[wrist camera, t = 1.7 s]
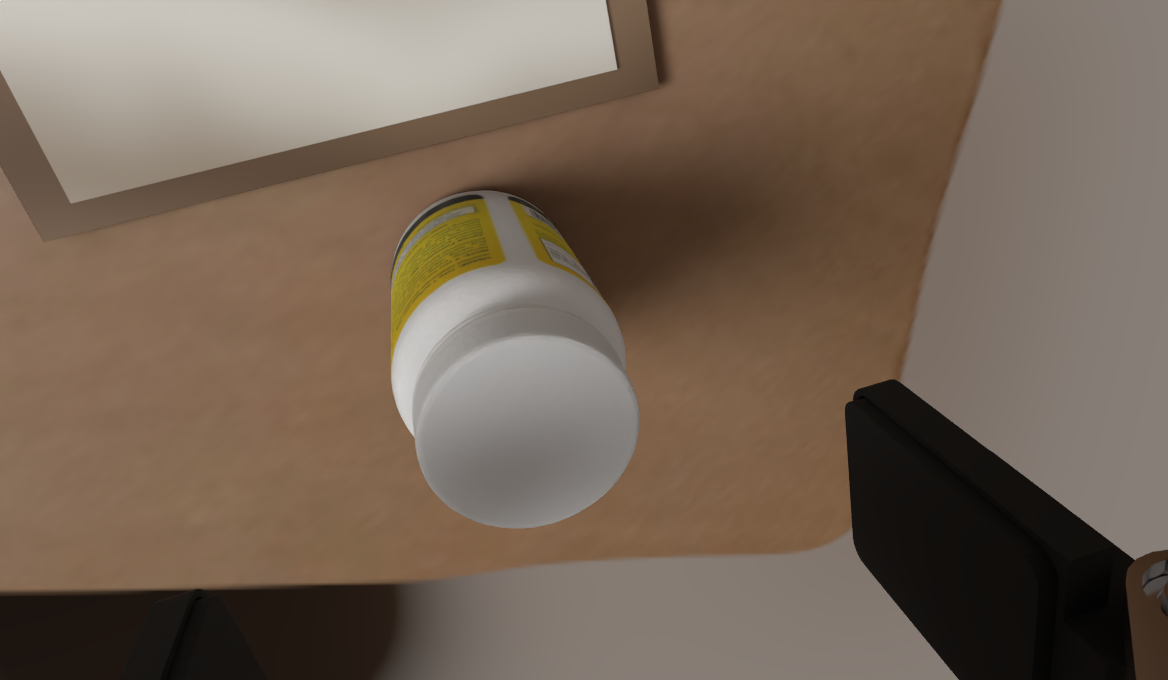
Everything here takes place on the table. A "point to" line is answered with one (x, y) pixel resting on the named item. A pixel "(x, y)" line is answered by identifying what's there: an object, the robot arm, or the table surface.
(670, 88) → the table surface
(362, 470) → the table surface
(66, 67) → the clipboard
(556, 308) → the supplement bottle
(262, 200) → the table surface
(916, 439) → the robot arm
